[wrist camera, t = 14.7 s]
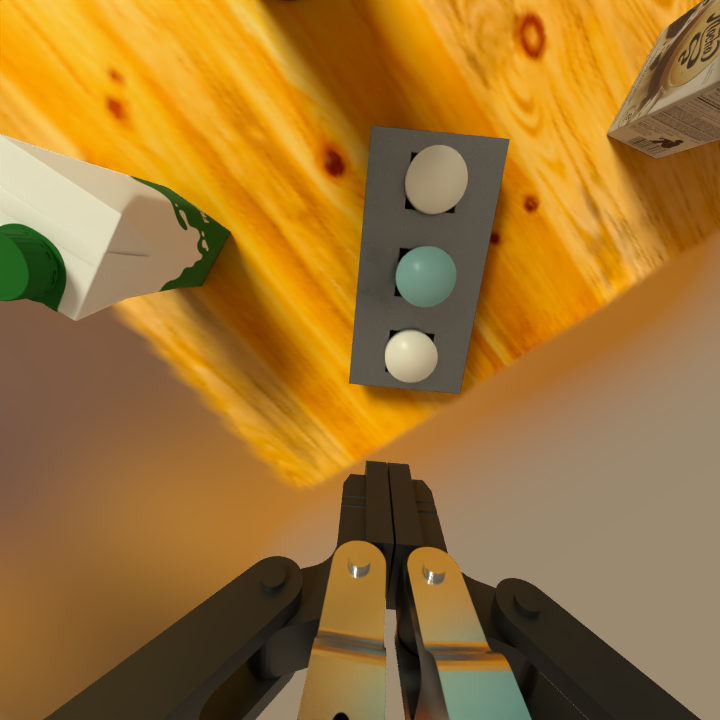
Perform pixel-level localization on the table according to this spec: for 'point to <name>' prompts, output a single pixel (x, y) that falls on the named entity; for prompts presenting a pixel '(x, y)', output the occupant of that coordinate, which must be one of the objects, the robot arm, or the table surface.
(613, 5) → the table surface
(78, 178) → the milk carton
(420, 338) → the ivory plug
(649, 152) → the coffee box
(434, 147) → the ivory plug
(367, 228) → the socket strip
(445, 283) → the plug teal
